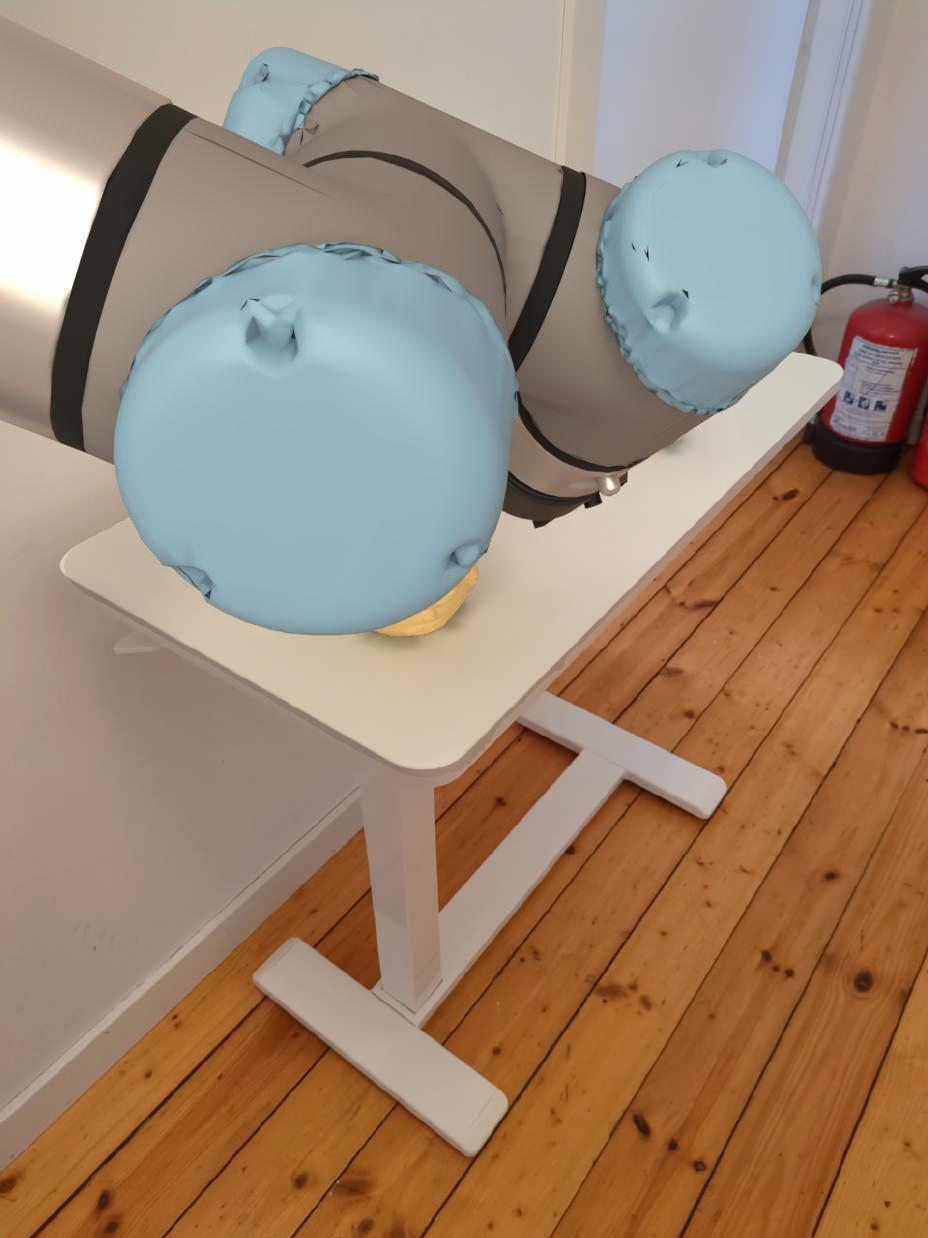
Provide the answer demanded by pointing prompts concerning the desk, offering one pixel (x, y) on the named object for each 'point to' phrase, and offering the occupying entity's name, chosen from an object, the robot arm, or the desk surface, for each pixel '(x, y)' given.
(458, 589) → the sculpture
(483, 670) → the desk surface
